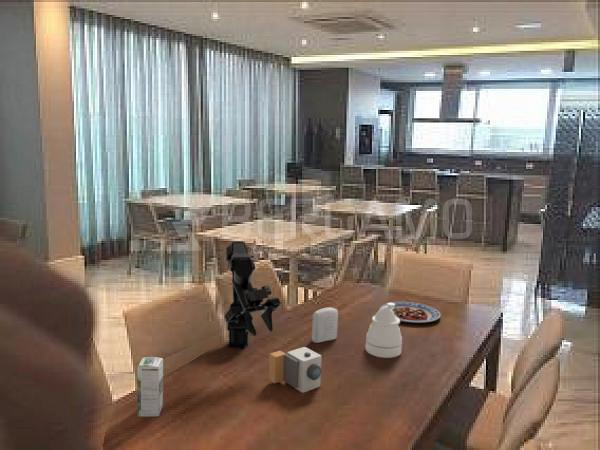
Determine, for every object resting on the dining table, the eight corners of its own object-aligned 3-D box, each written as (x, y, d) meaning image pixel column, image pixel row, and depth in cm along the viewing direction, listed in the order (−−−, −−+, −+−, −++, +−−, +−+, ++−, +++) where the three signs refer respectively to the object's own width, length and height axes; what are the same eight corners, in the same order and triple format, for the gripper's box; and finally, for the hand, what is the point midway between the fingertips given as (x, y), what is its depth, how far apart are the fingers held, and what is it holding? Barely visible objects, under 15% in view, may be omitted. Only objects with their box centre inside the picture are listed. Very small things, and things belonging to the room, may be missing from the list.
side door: (269, 379, 155) (269, 353, 153) (279, 376, 157) (280, 350, 156) (286, 391, 148) (287, 364, 146) (297, 387, 150) (298, 360, 149)
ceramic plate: (447, 314, 223) (448, 307, 222) (428, 331, 202) (429, 324, 201) (393, 302, 237) (393, 296, 236) (370, 317, 215) (370, 311, 215)
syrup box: (142, 406, 139) (141, 356, 137) (163, 405, 140) (163, 356, 137) (137, 417, 133) (136, 366, 131) (160, 417, 134) (159, 366, 132)
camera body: (285, 382, 155) (286, 350, 153) (303, 376, 160) (304, 344, 158) (306, 395, 148) (307, 362, 146) (324, 388, 152) (325, 356, 150)
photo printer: (331, 335, 194) (333, 304, 192) (338, 339, 190) (340, 307, 188) (309, 340, 188) (311, 308, 186) (316, 344, 185) (317, 312, 183)
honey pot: (408, 350, 182) (411, 303, 179) (388, 361, 173) (391, 311, 170) (378, 340, 191) (381, 294, 188) (358, 349, 182) (361, 301, 178)
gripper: (229, 282, 154) (249, 327, 147) (278, 273, 165) (298, 315, 159) (216, 300, 161) (234, 344, 155) (264, 290, 173) (282, 331, 166)
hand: (263, 333), depth 158 cm, fingers open, 6 cm apart
